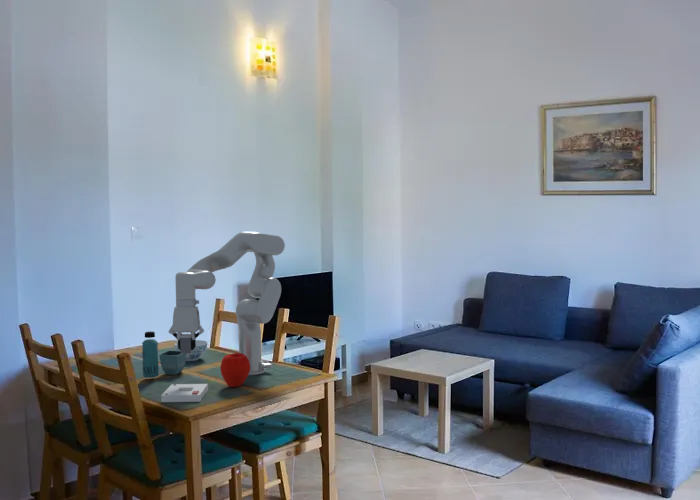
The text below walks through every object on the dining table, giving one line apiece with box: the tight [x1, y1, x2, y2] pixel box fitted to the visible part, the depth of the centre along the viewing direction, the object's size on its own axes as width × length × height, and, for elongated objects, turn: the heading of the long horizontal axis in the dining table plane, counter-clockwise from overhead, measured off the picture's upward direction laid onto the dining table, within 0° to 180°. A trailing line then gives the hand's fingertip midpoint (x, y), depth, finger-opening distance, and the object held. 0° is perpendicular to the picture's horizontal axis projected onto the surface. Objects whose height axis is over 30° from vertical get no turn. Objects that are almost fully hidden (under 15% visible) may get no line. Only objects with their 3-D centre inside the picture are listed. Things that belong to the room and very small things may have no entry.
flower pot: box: [158, 350, 187, 376], centre depth 296 cm, size 9×9×9 cm
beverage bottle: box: [141, 331, 160, 379], centre depth 286 cm, size 6×7×20 cm
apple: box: [220, 352, 250, 388], centre depth 274 cm, size 12×12×13 cm
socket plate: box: [160, 383, 209, 403], centre depth 261 cm, size 14×16×3 cm
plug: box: [180, 333, 193, 353], centre depth 273 cm, size 4×4×7 cm
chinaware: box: [174, 339, 208, 362], centre depth 323 cm, size 15×15×8 cm
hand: (186, 348), depth 273 cm, fingers closed on plug, 4 cm apart
